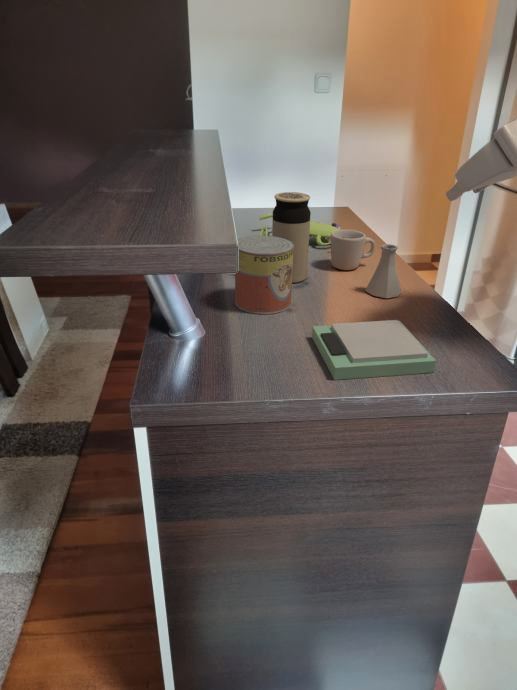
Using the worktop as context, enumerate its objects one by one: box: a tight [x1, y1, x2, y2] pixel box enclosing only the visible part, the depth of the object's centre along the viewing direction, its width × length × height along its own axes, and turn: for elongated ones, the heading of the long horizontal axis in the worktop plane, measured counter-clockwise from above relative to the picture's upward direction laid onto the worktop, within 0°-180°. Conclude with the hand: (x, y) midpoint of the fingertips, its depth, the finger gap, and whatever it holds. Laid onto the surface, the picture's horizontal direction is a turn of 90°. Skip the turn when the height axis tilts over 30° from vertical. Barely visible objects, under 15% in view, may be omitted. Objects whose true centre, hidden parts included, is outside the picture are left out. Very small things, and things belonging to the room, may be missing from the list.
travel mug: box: [271, 191, 312, 284], centre depth 111 cm, size 8×8×18 cm
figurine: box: [259, 212, 342, 247], centre depth 139 cm, size 18×27×6 cm
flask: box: [364, 243, 402, 299], centre depth 106 cm, size 7×7×10 cm
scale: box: [311, 319, 437, 381], centre depth 84 cm, size 16×14×3 cm
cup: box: [330, 229, 376, 271], centre depth 120 cm, size 11×8×8 cm
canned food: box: [234, 235, 294, 315], centre depth 100 cm, size 11×11×12 cm
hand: (462, 193), depth 90 cm, fingers open, 8 cm apart
